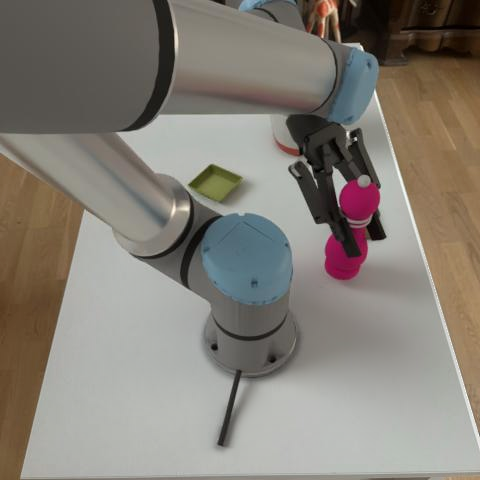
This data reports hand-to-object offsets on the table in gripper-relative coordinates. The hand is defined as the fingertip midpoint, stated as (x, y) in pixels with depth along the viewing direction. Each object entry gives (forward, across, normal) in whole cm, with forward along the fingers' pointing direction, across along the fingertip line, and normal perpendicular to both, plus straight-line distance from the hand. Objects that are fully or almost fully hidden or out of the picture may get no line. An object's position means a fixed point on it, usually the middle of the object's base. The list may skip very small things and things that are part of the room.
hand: (367, 247), depth 71 cm
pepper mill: (+3, 0, +9) cm, 9 cm away
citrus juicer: (-20, +21, +34) cm, 45 cm away
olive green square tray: (-19, -4, +34) cm, 39 cm away
